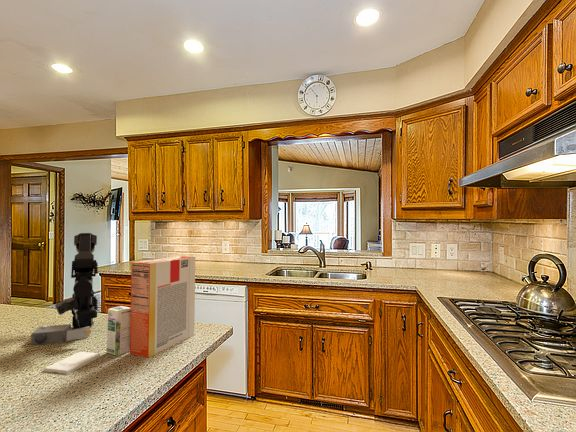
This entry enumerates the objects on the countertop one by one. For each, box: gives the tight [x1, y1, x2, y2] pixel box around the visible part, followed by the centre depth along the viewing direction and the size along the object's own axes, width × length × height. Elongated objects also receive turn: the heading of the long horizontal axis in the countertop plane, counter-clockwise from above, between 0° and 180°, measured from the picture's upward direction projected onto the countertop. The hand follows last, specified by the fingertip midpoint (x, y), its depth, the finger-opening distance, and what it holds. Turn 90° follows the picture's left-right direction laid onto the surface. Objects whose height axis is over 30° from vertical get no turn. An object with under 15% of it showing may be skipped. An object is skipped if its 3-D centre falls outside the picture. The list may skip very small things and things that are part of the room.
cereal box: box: [129, 255, 196, 358], centre depth 118 cm, size 23×8×30 cm, turn 158°
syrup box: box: [106, 305, 131, 357], centre depth 110 cm, size 6×6×14 cm
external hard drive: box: [43, 351, 101, 375], centre depth 100 cm, size 2×8×12 cm
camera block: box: [30, 323, 72, 346], centre depth 120 cm, size 10×9×5 cm
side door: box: [62, 326, 92, 343], centre depth 120 cm, size 1×9×4 cm, turn 141°
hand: (81, 332), depth 123 cm, fingers closed
